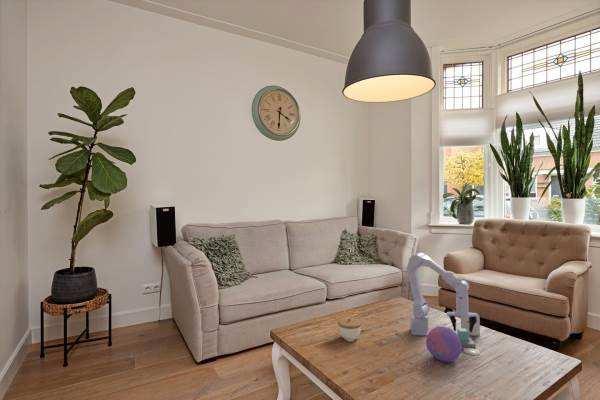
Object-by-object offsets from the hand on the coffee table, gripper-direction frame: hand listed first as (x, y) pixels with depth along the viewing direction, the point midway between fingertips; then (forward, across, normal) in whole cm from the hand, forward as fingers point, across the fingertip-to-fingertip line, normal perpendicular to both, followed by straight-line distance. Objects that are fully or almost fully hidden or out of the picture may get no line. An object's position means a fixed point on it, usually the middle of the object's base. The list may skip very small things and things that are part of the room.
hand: (462, 330), depth 167 cm
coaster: (+6, +1, -9) cm, 11 cm away
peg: (+6, 0, 0) cm, 6 cm away
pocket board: (+6, -5, 0) cm, 8 cm away
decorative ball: (+6, -14, -19) cm, 24 cm away
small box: (+7, +7, +13) cm, 16 cm away
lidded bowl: (+6, -58, -3) cm, 58 cm away
